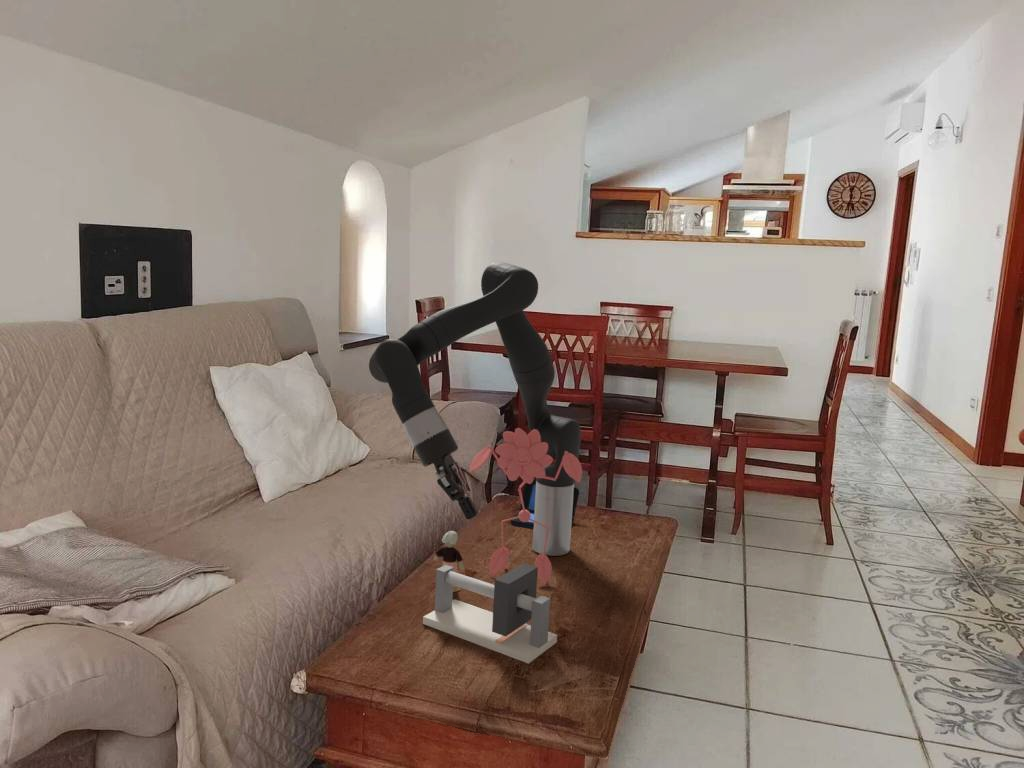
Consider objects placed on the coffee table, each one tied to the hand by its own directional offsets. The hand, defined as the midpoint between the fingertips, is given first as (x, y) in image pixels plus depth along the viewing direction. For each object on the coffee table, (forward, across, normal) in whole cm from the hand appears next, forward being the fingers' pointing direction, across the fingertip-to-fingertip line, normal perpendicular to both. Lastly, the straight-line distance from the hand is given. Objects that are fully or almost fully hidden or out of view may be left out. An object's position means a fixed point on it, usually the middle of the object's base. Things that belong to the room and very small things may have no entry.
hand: (473, 516), depth 151 cm
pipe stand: (+21, +1, +8) cm, 22 cm away
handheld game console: (+14, +67, +1) cm, 68 cm away
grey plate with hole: (+21, -2, +2) cm, 21 cm away
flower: (+19, +25, +5) cm, 31 cm away
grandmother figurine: (+12, +18, +17) cm, 28 cm away
